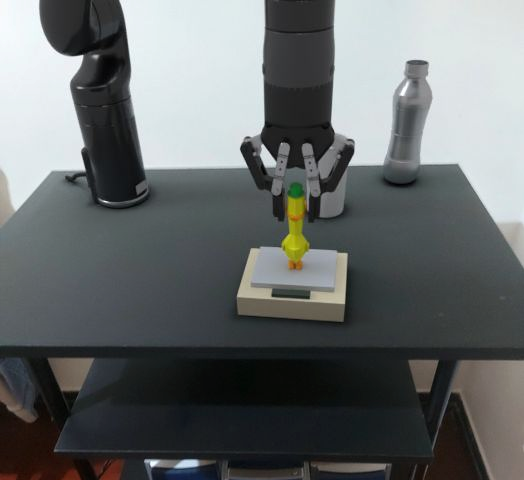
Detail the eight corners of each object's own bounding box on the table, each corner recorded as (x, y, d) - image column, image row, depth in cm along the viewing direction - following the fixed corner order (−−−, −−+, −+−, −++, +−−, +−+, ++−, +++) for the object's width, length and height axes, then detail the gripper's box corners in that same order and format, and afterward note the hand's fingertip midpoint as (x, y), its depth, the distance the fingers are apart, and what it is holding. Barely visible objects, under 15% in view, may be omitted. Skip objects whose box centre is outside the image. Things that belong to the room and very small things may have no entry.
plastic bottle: (377, 174, 103) (391, 58, 90) (411, 171, 103) (430, 56, 90) (386, 189, 98) (402, 69, 85) (422, 186, 99) (444, 66, 85)
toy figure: (284, 251, 77) (284, 169, 69) (309, 252, 76) (312, 170, 68) (280, 278, 72) (280, 194, 64) (307, 279, 71) (310, 194, 63)
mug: (341, 220, 90) (347, 149, 82) (302, 217, 91) (303, 146, 83) (348, 193, 97) (354, 125, 89) (311, 190, 99) (314, 123, 91)
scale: (237, 314, 72) (236, 291, 70) (251, 265, 81) (250, 243, 79) (343, 322, 71) (345, 298, 68) (346, 270, 79) (348, 248, 77)
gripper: (365, 64, 59) (352, 208, 71) (239, 63, 61) (246, 203, 73) (365, 85, 54) (351, 237, 66) (226, 83, 56) (236, 232, 67)
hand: (296, 218), depth 69 cm, fingers open, 3 cm apart
